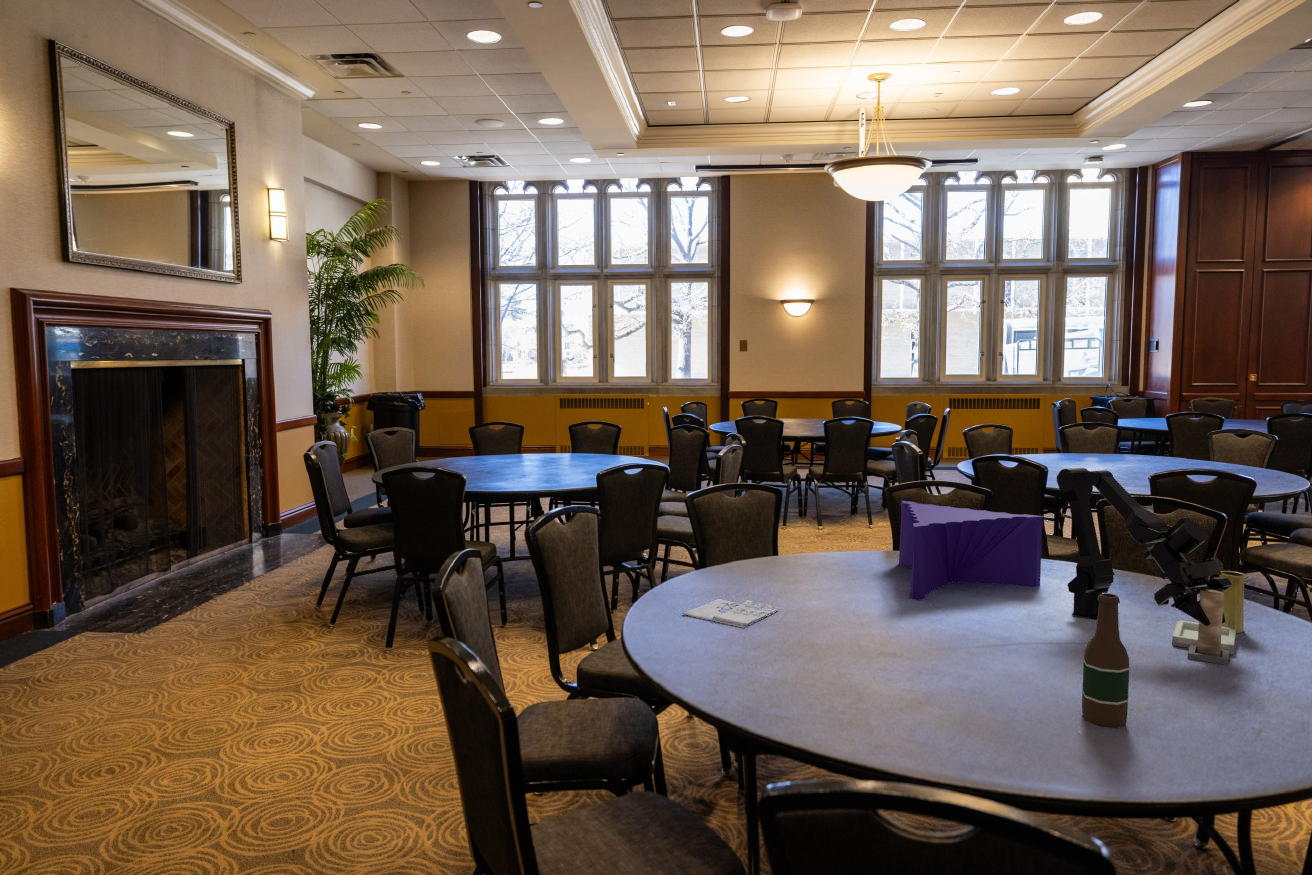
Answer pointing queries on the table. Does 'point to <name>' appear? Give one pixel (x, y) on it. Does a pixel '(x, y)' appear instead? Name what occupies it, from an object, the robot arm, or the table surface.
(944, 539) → the purple jagged triangular block
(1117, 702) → the beer bottle
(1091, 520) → the robot arm
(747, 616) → the white square relief plate
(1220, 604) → the dowel
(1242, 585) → the vase
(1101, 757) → the table surface
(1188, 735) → the table surface
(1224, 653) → the holder
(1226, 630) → the tray
